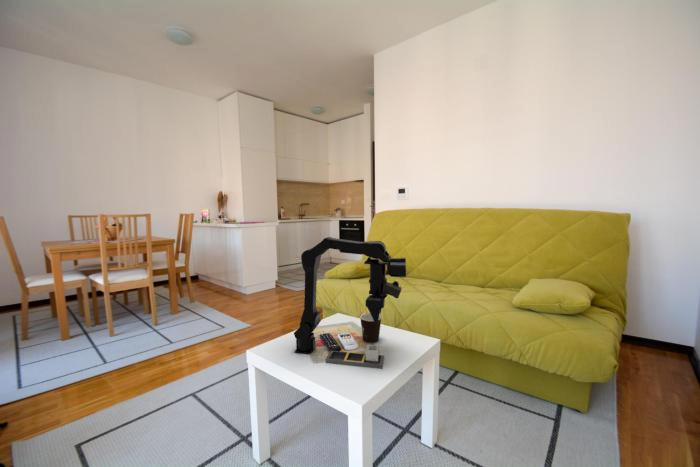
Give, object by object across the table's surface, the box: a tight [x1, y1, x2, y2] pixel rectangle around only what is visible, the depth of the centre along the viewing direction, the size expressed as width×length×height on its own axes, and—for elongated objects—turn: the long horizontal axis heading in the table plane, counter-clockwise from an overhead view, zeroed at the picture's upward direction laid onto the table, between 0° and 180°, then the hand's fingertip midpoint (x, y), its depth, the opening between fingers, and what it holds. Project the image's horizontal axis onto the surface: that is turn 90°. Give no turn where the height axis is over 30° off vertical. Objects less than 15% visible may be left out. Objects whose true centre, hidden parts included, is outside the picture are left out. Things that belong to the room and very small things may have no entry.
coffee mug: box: [360, 313, 382, 344], centre depth 124 cm, size 12×9×10 cm
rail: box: [325, 350, 385, 370], centre depth 105 cm, size 20×6×2 cm, turn 78°
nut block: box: [365, 344, 380, 364], centre depth 104 cm, size 4×4×6 cm
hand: (377, 318), depth 108 cm, fingers open, 9 cm apart
